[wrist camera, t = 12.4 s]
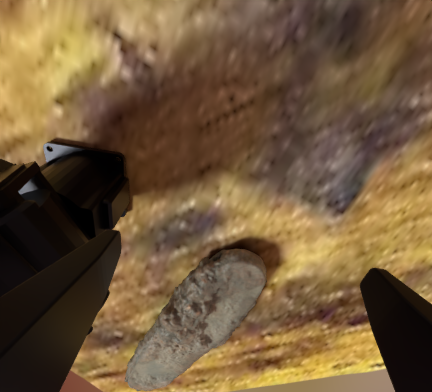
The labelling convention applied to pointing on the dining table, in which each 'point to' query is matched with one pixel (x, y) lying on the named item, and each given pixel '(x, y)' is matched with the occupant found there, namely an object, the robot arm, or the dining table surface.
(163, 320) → the elongated rock
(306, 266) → the dining table surface
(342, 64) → the dining table surface
